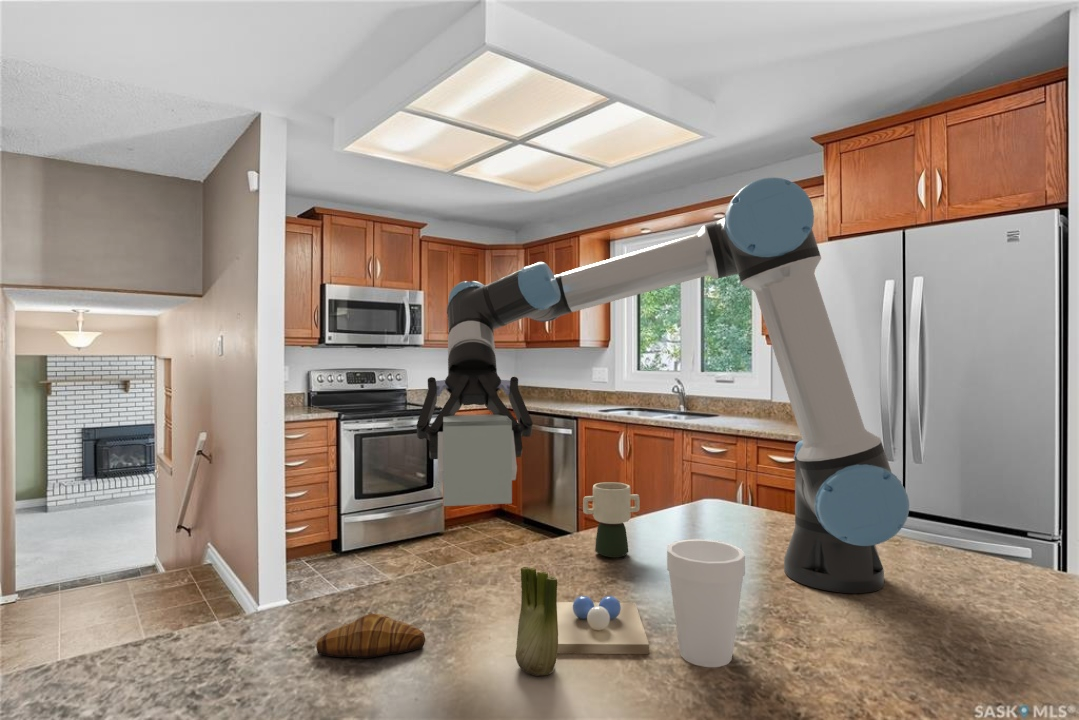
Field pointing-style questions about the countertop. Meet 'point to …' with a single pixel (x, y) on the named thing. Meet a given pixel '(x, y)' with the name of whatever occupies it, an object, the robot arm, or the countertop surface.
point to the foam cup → (706, 598)
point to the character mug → (611, 516)
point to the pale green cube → (477, 460)
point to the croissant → (371, 638)
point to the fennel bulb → (537, 623)
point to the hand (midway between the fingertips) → (477, 475)
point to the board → (601, 632)
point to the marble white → (598, 618)
